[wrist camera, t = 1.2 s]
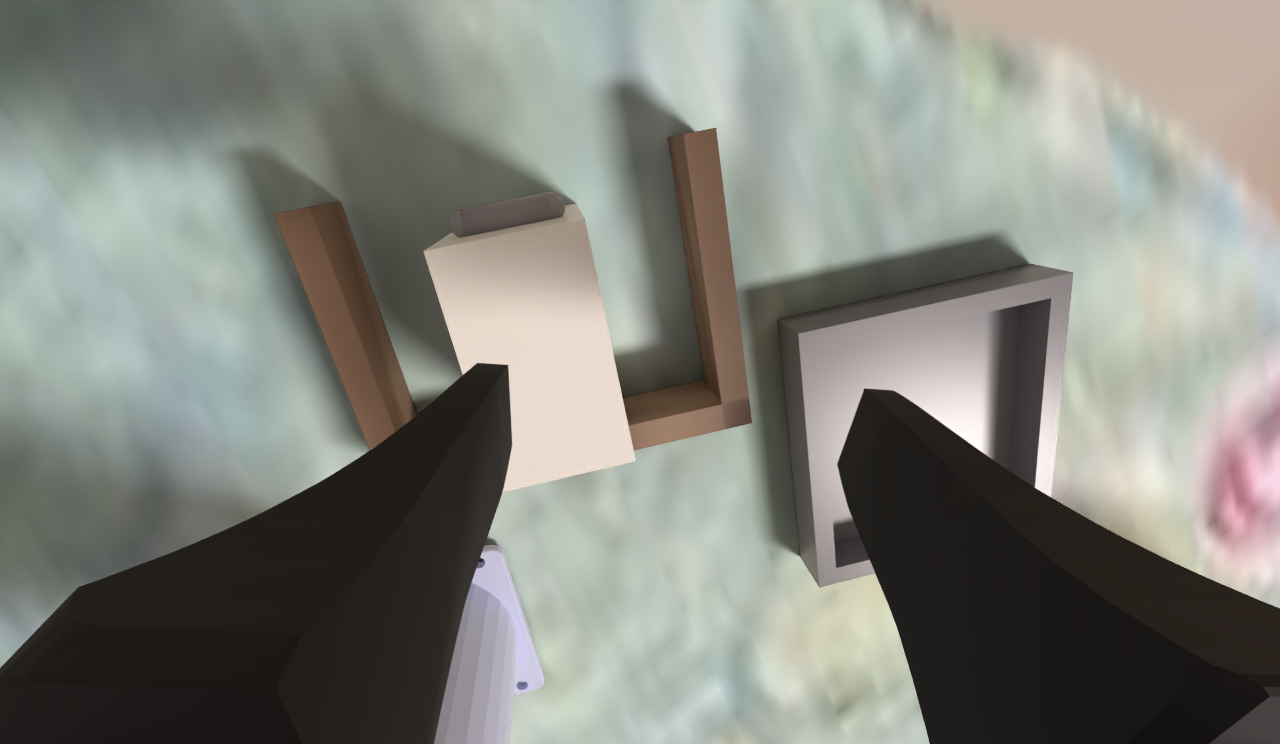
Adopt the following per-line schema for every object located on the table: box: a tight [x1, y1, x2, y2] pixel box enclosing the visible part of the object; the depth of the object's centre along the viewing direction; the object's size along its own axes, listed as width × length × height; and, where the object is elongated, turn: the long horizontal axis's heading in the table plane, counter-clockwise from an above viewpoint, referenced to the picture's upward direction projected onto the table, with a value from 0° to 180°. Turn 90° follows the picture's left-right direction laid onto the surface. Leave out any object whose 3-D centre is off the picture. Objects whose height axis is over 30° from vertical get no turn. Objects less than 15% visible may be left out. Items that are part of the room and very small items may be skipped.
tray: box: [778, 264, 1073, 587], centre depth 24 cm, size 11×12×2 cm
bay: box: [274, 128, 752, 450], centre depth 20 cm, size 13×10×2 cm
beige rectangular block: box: [423, 192, 636, 492], centre depth 18 cm, size 4×8×6 cm, turn 11°
